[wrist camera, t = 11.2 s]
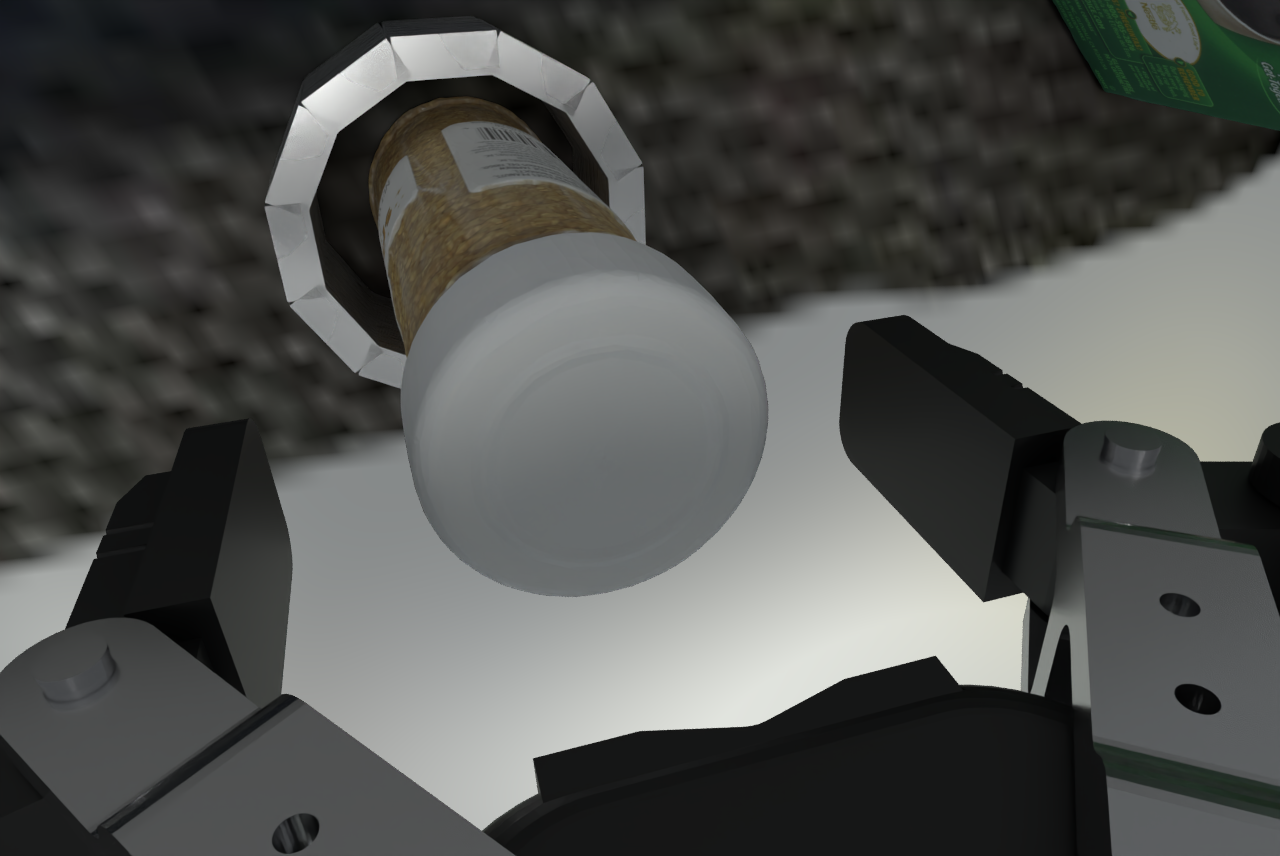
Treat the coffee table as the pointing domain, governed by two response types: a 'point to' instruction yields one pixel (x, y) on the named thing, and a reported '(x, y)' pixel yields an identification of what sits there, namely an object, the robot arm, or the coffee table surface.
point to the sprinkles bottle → (553, 363)
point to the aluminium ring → (356, 84)
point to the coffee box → (1185, 53)
